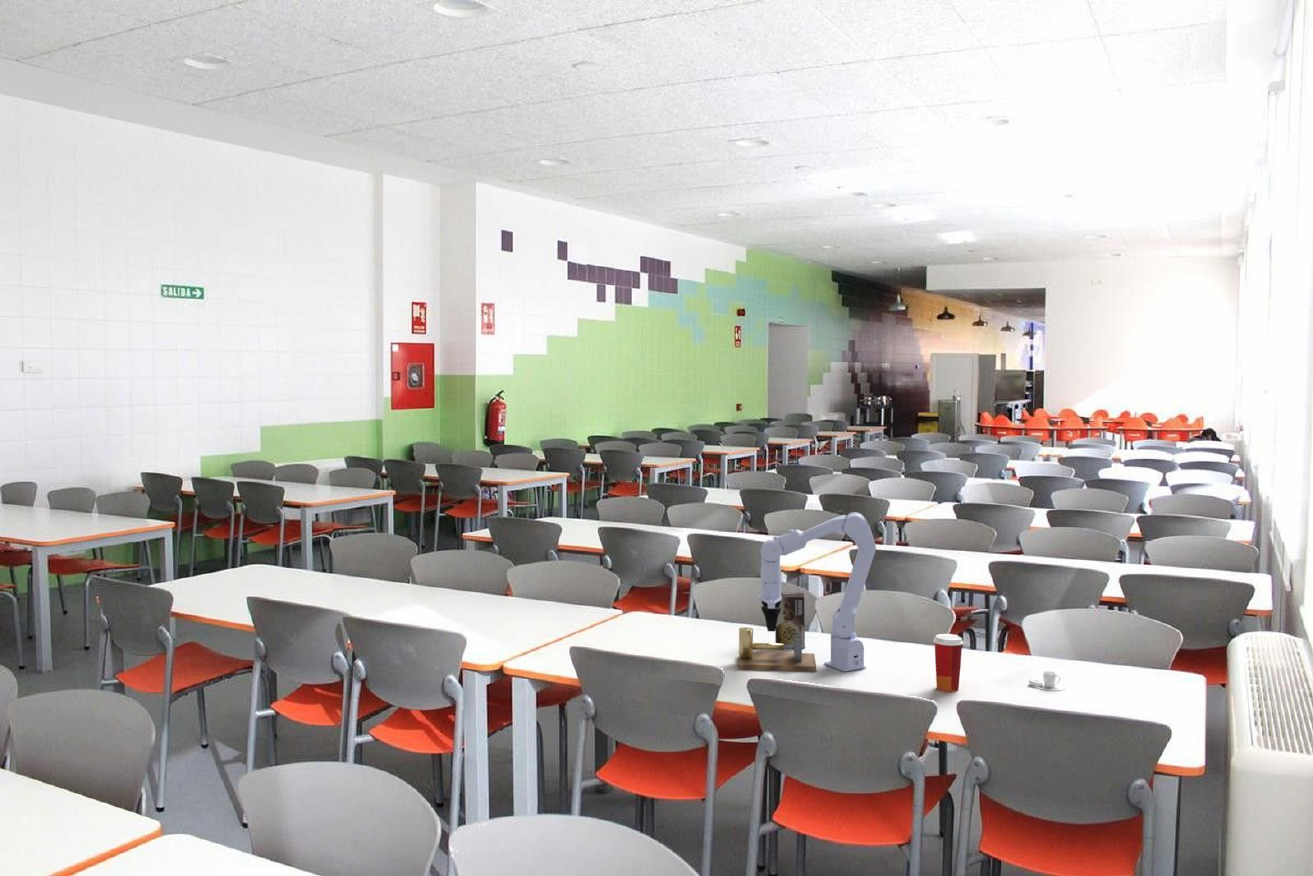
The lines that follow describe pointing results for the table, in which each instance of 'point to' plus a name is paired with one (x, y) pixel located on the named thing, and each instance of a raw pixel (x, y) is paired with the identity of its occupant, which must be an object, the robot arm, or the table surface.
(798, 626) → the coffee box
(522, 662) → the table surface
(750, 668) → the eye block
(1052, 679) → the teacup and saucer
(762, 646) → the gold cylinder with rod
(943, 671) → the paper cup
